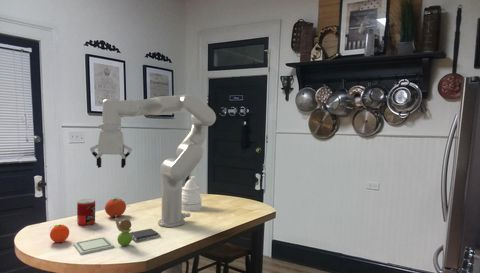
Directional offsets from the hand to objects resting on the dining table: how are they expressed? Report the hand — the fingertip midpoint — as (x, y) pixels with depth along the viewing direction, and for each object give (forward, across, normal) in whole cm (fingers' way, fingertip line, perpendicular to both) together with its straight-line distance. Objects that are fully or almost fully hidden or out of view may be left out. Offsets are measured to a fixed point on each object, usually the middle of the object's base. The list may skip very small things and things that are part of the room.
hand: (111, 167), depth 141 cm
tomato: (+29, -3, +26) cm, 39 cm away
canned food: (+29, -14, +16) cm, 36 cm away
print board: (+29, -3, -15) cm, 33 cm away
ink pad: (+29, +15, -6) cm, 33 cm away
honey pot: (+29, +35, +40) cm, 60 cm away
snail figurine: (+29, +8, -15) cm, 34 cm away
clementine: (+29, -18, -8) cm, 35 cm away
